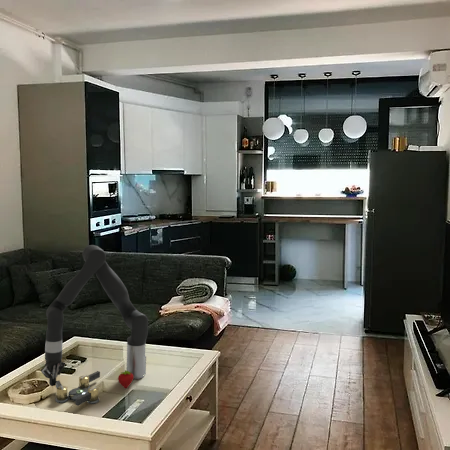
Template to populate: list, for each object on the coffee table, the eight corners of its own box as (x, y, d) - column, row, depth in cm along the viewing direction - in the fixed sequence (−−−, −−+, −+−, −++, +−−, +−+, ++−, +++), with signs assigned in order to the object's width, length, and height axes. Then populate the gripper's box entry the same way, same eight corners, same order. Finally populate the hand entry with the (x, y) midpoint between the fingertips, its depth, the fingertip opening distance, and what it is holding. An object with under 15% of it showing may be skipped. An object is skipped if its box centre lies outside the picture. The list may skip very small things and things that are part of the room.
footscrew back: (84, 389, 233) (84, 379, 233) (76, 387, 235) (77, 376, 235) (102, 380, 244) (102, 370, 243) (95, 377, 246) (95, 368, 246)
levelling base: (83, 385, 240) (83, 378, 240) (112, 394, 232) (112, 387, 232) (52, 400, 223) (52, 394, 223) (82, 411, 215) (82, 404, 215)
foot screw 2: (92, 395, 228) (92, 385, 227) (100, 398, 226) (100, 387, 225) (72, 406, 217) (73, 395, 216) (80, 409, 215) (80, 398, 214)
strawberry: (115, 387, 239) (116, 367, 238) (130, 384, 243) (130, 364, 242) (120, 392, 234) (121, 372, 233) (135, 389, 239) (135, 369, 237)
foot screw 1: (68, 399, 223) (68, 388, 223) (57, 401, 221) (57, 390, 220) (62, 387, 234) (62, 377, 233) (52, 389, 232) (52, 379, 231)
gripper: (48, 355, 221) (47, 392, 222) (70, 347, 232) (69, 382, 234) (36, 351, 224) (35, 388, 226) (58, 343, 236) (57, 378, 237)
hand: (52, 385), depth 230 cm, fingers closed
